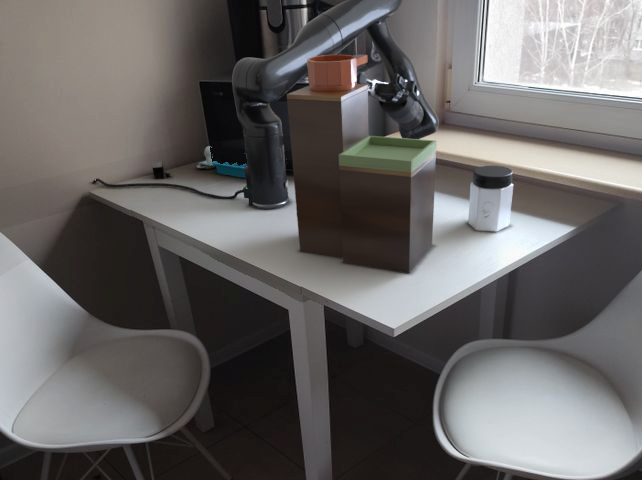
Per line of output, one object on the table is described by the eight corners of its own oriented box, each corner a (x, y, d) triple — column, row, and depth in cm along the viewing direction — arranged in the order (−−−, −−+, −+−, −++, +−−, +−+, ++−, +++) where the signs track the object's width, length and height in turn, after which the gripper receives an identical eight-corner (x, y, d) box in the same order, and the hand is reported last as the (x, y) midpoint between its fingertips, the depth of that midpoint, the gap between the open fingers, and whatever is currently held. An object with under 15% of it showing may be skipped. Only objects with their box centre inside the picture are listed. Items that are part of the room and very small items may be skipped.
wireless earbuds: (154, 180, 176) (152, 168, 174) (154, 173, 182) (152, 161, 180) (171, 178, 177) (169, 166, 175) (170, 171, 183) (168, 160, 181)
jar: (465, 230, 135) (469, 175, 129) (470, 216, 142) (474, 164, 135) (507, 233, 133) (513, 177, 126) (510, 219, 139) (516, 166, 133)
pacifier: (192, 169, 184) (206, 171, 181) (188, 147, 181) (202, 149, 177) (210, 162, 189) (224, 165, 185) (207, 141, 185) (220, 143, 182)
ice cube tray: (237, 162, 187) (236, 152, 186) (291, 170, 178) (290, 160, 176) (211, 173, 179) (209, 162, 178) (266, 182, 170) (265, 171, 168)
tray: (368, 145, 124) (368, 135, 123) (436, 151, 119) (436, 140, 118) (338, 165, 114) (338, 154, 112) (411, 172, 108) (411, 161, 107)
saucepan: (342, 73, 129) (341, 47, 126) (382, 75, 126) (382, 47, 123) (300, 90, 115) (298, 61, 113) (344, 92, 112) (343, 62, 109)
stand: (325, 230, 139) (316, 82, 122) (432, 245, 129) (438, 87, 112) (295, 255, 128) (281, 96, 112) (409, 273, 119) (412, 103, 102)
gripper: (374, 86, 151) (350, 59, 137) (430, 88, 146) (411, 60, 131) (369, 117, 152) (344, 93, 137) (424, 120, 147) (404, 96, 132)
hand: (376, 77), depth 134 cm, fingers open, 8 cm apart
